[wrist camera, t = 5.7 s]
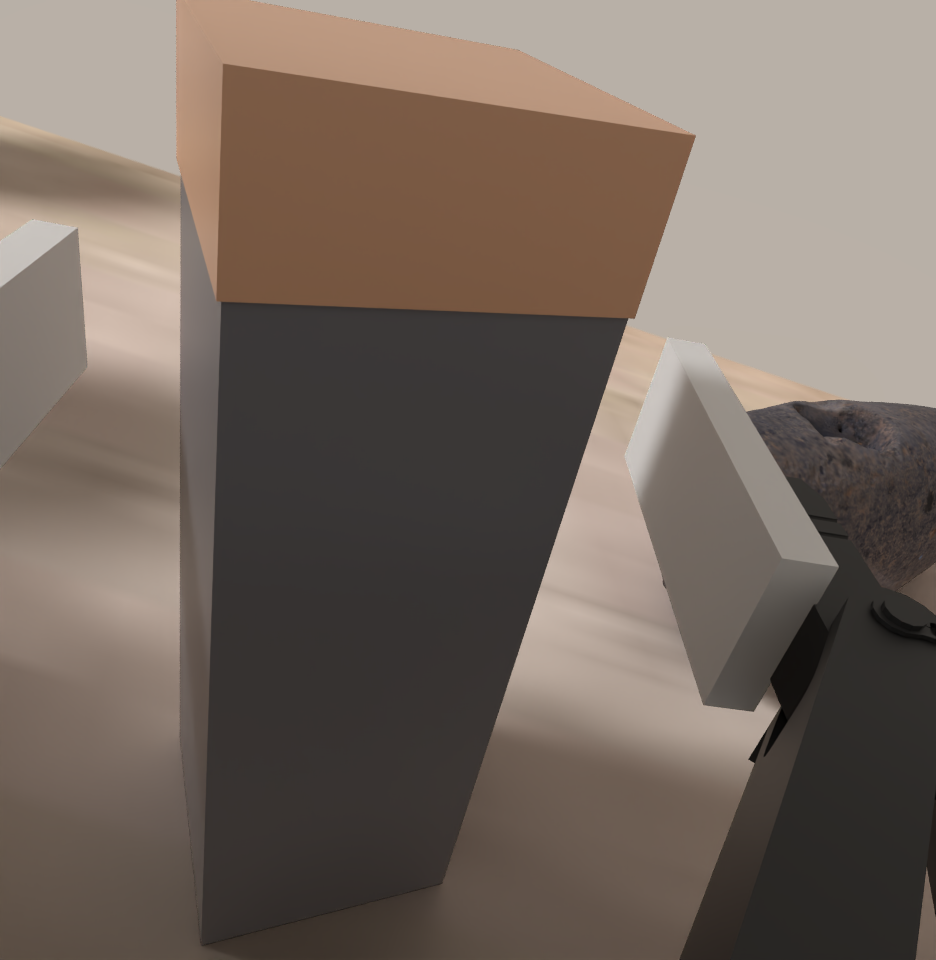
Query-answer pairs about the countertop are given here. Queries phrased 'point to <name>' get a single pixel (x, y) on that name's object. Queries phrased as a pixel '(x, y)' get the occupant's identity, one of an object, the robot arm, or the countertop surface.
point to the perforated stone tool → (865, 474)
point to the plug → (377, 423)
